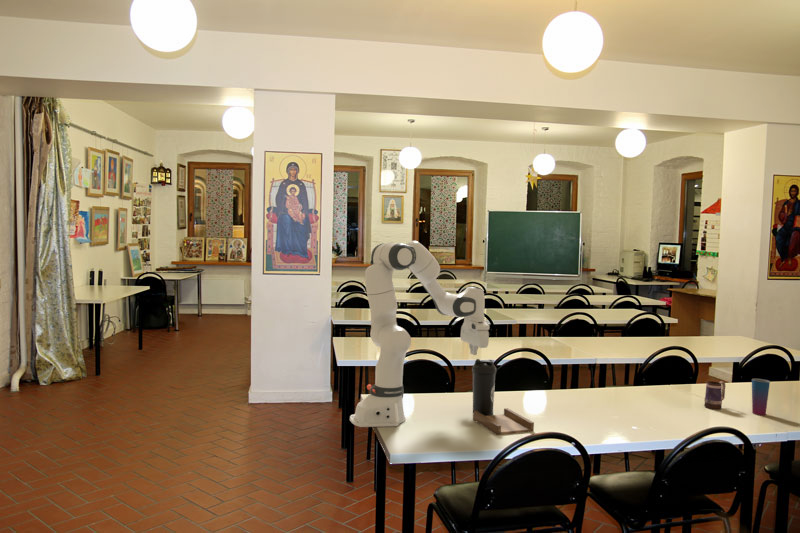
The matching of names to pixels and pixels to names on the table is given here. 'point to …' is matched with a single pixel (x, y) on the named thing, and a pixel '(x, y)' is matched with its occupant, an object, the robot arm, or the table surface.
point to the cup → (759, 396)
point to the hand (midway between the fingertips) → (473, 354)
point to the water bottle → (483, 386)
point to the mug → (714, 394)
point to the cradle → (504, 422)
